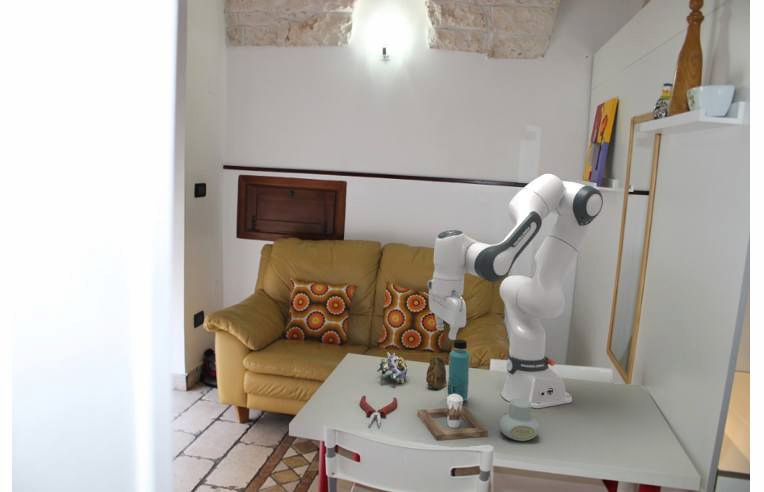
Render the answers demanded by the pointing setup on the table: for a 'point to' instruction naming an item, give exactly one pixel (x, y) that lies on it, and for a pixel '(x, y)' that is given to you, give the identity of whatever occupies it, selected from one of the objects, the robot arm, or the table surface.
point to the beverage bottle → (459, 370)
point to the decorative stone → (436, 373)
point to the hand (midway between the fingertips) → (445, 334)
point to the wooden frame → (440, 434)
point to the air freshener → (519, 421)
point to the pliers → (380, 413)
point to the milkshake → (454, 409)
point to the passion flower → (394, 367)
